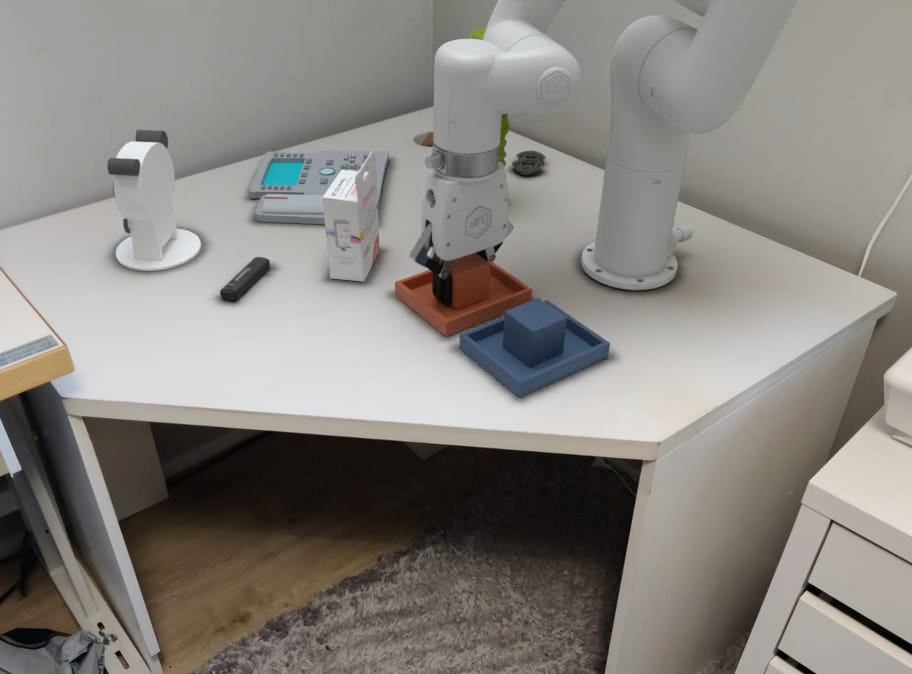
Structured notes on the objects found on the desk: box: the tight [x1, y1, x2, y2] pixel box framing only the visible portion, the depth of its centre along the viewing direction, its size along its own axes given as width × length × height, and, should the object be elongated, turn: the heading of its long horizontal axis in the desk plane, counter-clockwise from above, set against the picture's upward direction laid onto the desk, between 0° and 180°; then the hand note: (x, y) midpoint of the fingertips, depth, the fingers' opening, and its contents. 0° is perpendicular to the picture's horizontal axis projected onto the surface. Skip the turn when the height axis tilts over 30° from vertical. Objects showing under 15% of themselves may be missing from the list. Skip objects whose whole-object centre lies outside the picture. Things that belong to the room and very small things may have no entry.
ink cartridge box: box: [322, 152, 381, 282], centre depth 114 cm, size 9×5×15 cm, turn 168°
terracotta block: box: [439, 253, 490, 310], centre depth 110 cm, size 5×5×5 cm
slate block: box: [503, 297, 567, 368], centre depth 101 cm, size 5×5×5 cm
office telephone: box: [249, 149, 390, 225], centre depth 136 cm, size 23×3×20 cm
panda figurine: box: [106, 129, 202, 272], centre depth 118 cm, size 12×11×15 cm
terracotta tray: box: [394, 261, 533, 337], centre depth 112 cm, size 13×11×2 cm
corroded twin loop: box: [511, 150, 546, 176], centre depth 143 cm, size 5×8×1 cm, turn 166°
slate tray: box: [459, 299, 611, 398], centre depth 103 cm, size 13×11×2 cm
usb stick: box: [219, 256, 271, 301], centre depth 115 cm, size 10×3×2 cm, turn 160°
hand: (461, 292), depth 112 cm, fingers closed on terracotta block, 5 cm apart
